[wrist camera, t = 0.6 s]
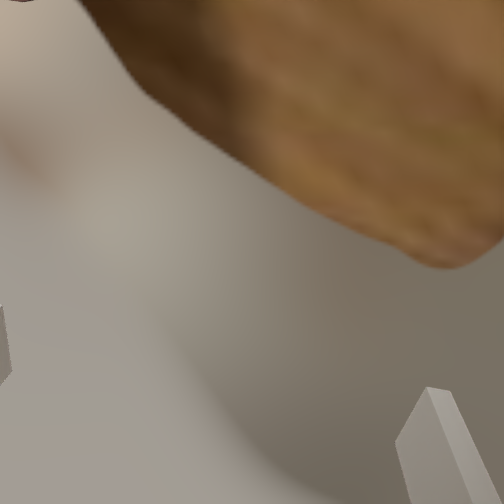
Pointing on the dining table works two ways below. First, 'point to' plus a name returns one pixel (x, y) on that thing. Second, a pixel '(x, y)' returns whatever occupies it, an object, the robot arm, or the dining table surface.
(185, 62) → the dining table surface
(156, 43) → the dining table surface
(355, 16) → the dining table surface
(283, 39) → the dining table surface
